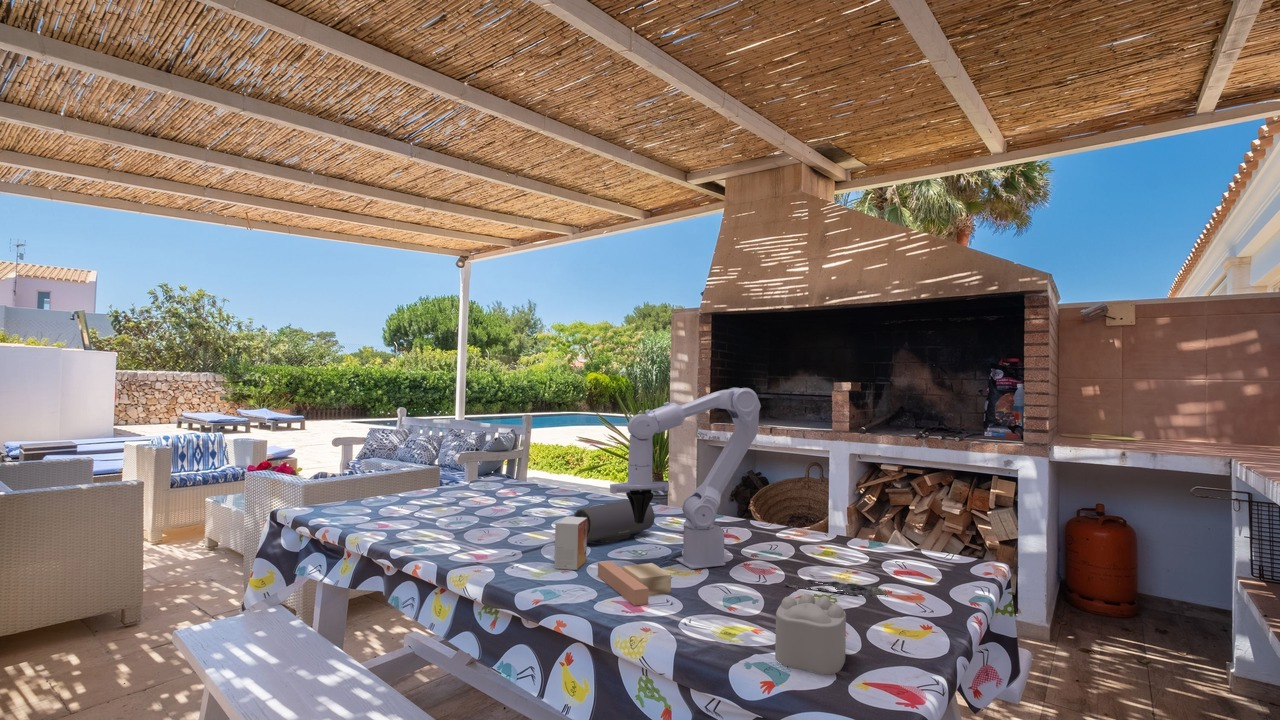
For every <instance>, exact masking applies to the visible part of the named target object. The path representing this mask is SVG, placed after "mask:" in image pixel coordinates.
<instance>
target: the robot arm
mask: <svg viewBox="0 0 1280 720" xmlns="http://www.w3.org/2000/svg"><path fill="white" fill-rule="evenodd" d="M761 408H762V406H761V403H760V400H759V397H758V395H757V393H756V392H755V391H754V390H753V389H751V388H749V387H742V388H740V387H730V388H728V389H722V390H718V391H715V392H711V393H709V394H706V395H703V396H701V397H699V398H696V399H694V400H691V401H689V402H686V403H684V404H681V405H680V404H678V403H676V402H671V403H670V401H666V402H664V403H663V405H662V406H659V407H657V408H654V409H651V410H650V409H646V410H644V414H643V413H637V414H634V415H633V416H631V418H630V419H629V421H628V424H627V430H628V432H629V434H630V435H629V441H628V442H629V444H628V461H627V463H628V466H627V471H628V473H627V481H626V482H620V483H619V482H618V483H610V484H609V493H610V494H612V495H616V494H620V493H622V494H623V493H625V495H626V497H627V499H628V501H629V502H630V504H631V507H632V510H633V514H634V520H635V522H636V523H638V524H639V523H643V522H644V517H645V514H646V511H647V508H648V506H649V504H651V501H652V500H653V498H654V493H653V492H659V491H660V492H661V491H662V492H669V490H670V482H667V481H653V456H654V455H653V453H654V451H653V450H654V445H653V436H655V434H660V433H662V432H663V433H664V432H666V431H668V430H671V429H674V428H677V427H679V426H681V425H683V423H684V421H685V420H686V418H689V417H691V416H695V415H698V414H701V413H705V412H708V411H710V410H713V409H721V410H726V411H727V412H728V413H729V415H730V417H731V419H732V422H733V425H734V430H733V432H732V433H731V435H730V437H729V438H728V440H727V442H726V443H725V446H723V448H722V450H721V452H720V453H719V455H718V457H717V459H716V460H715V462H714V463H713V466H712V467H711V469H710V470H709V472H708V474H707V475H706V477H705V479H704V480H703V482H702V484H700V485H699V486H698V487H696V488H695V490H694V492H692V494H691V495H689V496H688V497H686V498H685V499H684V501H683V503H682V513H683V516H685V517H686V519H685V521H684V522H683V540H682V541H683V543H682V544H683V546H682V547H683V548H682V557H677V558H676V559H675V561H677V562H679V563H680V564H682V565H683V566H685V567H687V568H688V569H691V570H694V569H695V570H696V569H703V568H712V567H714V568H715V567H723V566H726V562H725V534H724V530H723V528H722V527H721V526H720V525H717V524H714V523H715V522H716V519H717V512H718V509H719V508H720V505H721V499H722V498H721V497H722V494H723V493H724V491H725V489H726V488H727V485H728V484H729V482H730V480H731V479H732V477H733V475H734V474H735V472H736V471H737V469H738V467H739V466H740V465H741V462H742V460H743V458H744V457H745V455H746V454H747V452H748V450H749V448H750V447H751V445H752V443H753V441H754V440H755V438H756V436H757V435H758V433H759V425H760V424H759V422H760V421H759V418H760V410H761Z"/></svg>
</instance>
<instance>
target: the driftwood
mask: <svg viewBox="0 0 1280 720" xmlns="http://www.w3.org/2000/svg"><path fill="white" fill-rule="evenodd" d="M806 582H811V583H815V582H818V583H823V584H828V585H831V586H833V587H835V589H836V588H837V589H836V590H843V591H837V593H836V594H840V593H848V594H850V595H849V596H854V595H862V596H870V595H872V596H875V595H885V596H886V595H887V597H888V595H889V594H888V592H887V591H885V590H883V589H881V588H879V587H877V586H871V585H870V586H869V585H864V584H858V583H844V582H839V581H836V580H833V581H830V580H829V581H823V580H814V579H812V578H811V579H806ZM784 584H785V586H788V587H790V588H794V589H802V590H803V589H804V590H806V589H805V588H804V587H806V588H808V589H807V590H810V589H811V588H812V587H810V586H802V585H795V584H794V585H791V584H789V582H785V583H784ZM796 586H797V587H796ZM798 587H799V588H798ZM815 589H818V590H821V591H823V592H828V593H832V592H831V591H829V590H828V588H824V587H817V588H815ZM818 590H817V591H818ZM882 590H883V591H882ZM852 594H853V595H852ZM872 596H870V597H872Z"/></svg>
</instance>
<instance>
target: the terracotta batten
mask: <svg viewBox="0 0 1280 720" xmlns="http://www.w3.org/2000/svg"><path fill="white" fill-rule="evenodd" d="M597 577H599V578H600V580H602V581H603V582H605V583H606V585H608V586H609V587H610V588H612V589H613V590H614V591H616V592H617V593H618V594H619V595H620V596H621V597H622V598H624V599H625V600H626V601H628V602H629V603H630V604H631V605H632V606H634V607H635V606H642V605H648V604H649V596H648V591H649V588H647V587H646V586H645V585H643V584H642V583H640V582H639V581H638V580H636V579H635V578H634V577H632V576H631V575H629V574H628V573H627V572H625V571H624V570H623V568H621V567H620V566H618V565H617V564H616V563H614V562H612V560H609V561H607V560H606V561H599V562H597Z"/></svg>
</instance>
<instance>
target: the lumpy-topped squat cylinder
mask: <svg viewBox="0 0 1280 720" xmlns="http://www.w3.org/2000/svg"><path fill="white" fill-rule="evenodd" d="M846 625H847V614H846V611H845V610H844V608H843V607H842V606H841V605H839V604H837V603H834V602H832V601H831V600H830V598H829V597H827V596H820V597H814V596H813V595H812V594H810V593H804V594H803V595H802V596H801V597H797V598H794V597H793V596H789V595H787V596H785V597H784V598H783V599H782V600H781V603H780V605H779V606H778V608H777V610H776V613H775V651H774V655H775V656H774V657H775V661H776V660H777V661H778V662H779V663H781V664H783V665H785V666H784V667H786V666H788V667H787V668H790V667H792V668H791V669H799V670H803V671H808V672H810V671H811V673H814V674H819V675H828V676H829V675H833V674H834V675H835V674H836V673H839V672H840V671H841V670H842V668H844V667H843V666H845V665H844V664H845V662H846V648H847V647H846V645H847V644H846V642H847V641H846V639H847V637H846V636H847V634H846V631H847V630H846V629H847V626H846ZM777 661H776V662H777ZM778 662H777V663H778ZM779 663H778V664H779ZM781 664H780V665H781ZM783 665H782V666H783Z"/></svg>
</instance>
